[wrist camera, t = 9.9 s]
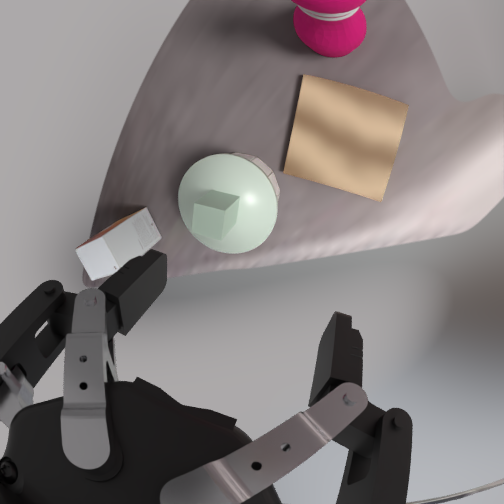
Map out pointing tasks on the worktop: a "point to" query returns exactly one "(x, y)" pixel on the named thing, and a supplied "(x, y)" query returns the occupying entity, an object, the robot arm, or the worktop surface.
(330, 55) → the pepper mill
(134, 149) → the worktop surface
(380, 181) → the plate
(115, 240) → the small box
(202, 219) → the lid
